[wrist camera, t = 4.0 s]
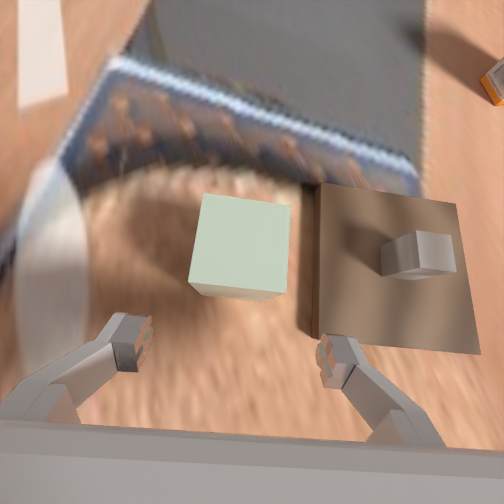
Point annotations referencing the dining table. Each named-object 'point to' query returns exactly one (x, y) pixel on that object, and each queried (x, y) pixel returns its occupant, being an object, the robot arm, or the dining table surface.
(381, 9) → the dining table surface
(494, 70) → the supplement box
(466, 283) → the post base
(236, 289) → the pale green tall block
